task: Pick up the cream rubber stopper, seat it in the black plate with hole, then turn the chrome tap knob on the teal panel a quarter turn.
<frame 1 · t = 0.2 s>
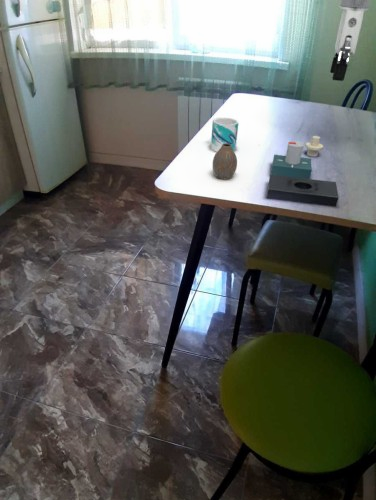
hand: (336, 76, 121), 22 cm above the table, tool pointing down, fingers open, 9 cm apart
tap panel: (290, 172, 123), on the table
stopper: (312, 154, 134), on the table
tap knob: (294, 152, 119), point 6 cm above the table, hinge at 0.0°
vase: (223, 177, 118), on the table
mug: (223, 146, 137), on the table
black plate with hole: (300, 194, 111), on the table
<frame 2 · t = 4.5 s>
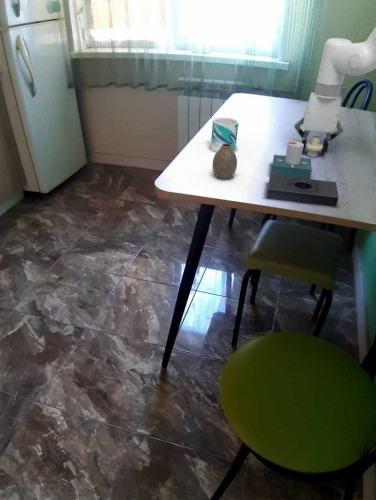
hand: (312, 152, 134), 1 cm above the table, tool pointing down, fingers closed on stopper, 5 cm apart
stopper: (312, 154, 134), on the table, touching gripper
everything else where it was.
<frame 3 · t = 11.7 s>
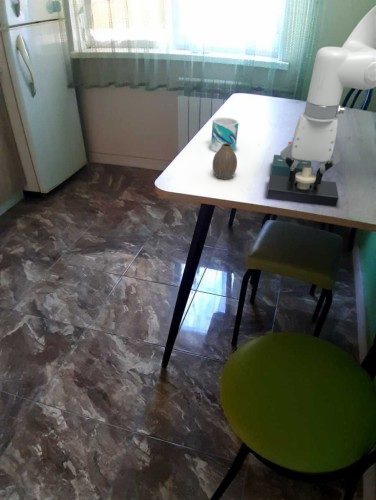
hand: (303, 184, 110), 3 cm above the table, tool pointing down, fingers closed on stopper, 5 cm apart
stopper: (303, 187, 110), point 2 cm above the table, touching gripper
everything else where it was.
when the fingers open (4 cm above the table, at t = 26.0 s): stopper stays where it is, resting on black plate with hole.
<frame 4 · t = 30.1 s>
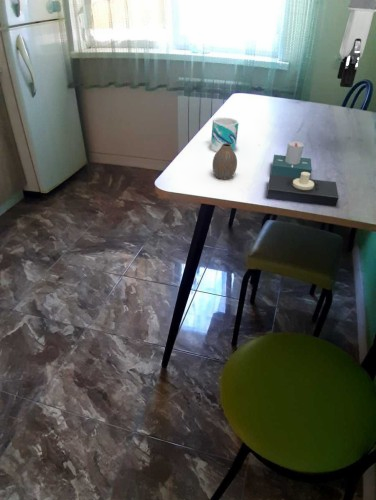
hand: (344, 82, 113), 22 cm above the table, tool pointing down, fingers open, 9 cm apart
stopper: (301, 193, 111), resting on black plate with hole
tap knob: (294, 152, 119), point 6 cm above the table, hinge at 90.2°
everything else where it was.
at the end: stopper 0.0 cm off-centre in the black plate with hole, point 0.3 cm above the black plate with hole's base; stopper tilted 0°; tap knob at +90° (first picture: +0°) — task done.
